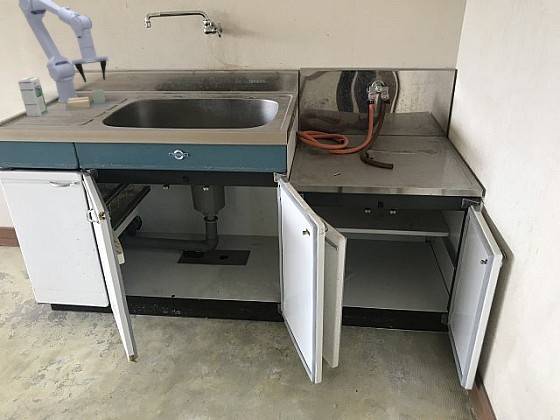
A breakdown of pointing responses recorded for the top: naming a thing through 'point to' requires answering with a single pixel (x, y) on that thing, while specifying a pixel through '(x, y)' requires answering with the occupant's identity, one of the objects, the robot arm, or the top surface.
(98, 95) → the sage block
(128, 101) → the top surface
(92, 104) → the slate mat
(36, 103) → the syrup box
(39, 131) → the top surface
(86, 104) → the oak base
